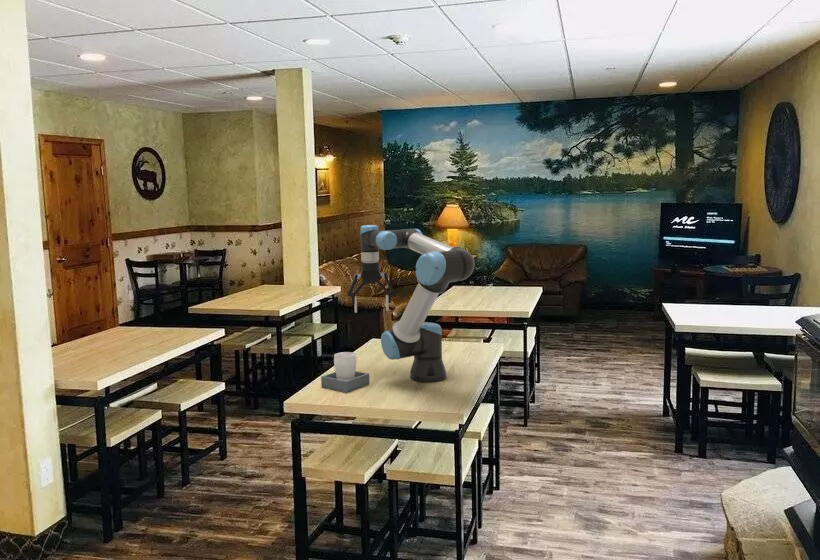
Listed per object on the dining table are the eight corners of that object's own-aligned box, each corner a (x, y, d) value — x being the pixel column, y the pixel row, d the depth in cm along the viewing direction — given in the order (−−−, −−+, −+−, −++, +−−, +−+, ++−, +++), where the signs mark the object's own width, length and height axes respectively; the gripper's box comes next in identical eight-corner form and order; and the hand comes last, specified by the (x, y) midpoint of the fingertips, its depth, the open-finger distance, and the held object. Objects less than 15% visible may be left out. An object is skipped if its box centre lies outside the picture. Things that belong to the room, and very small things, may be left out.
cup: (344, 388, 266) (343, 358, 265) (330, 384, 272) (329, 354, 271) (361, 383, 273) (360, 354, 271) (347, 379, 279) (346, 350, 277)
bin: (369, 384, 273) (369, 373, 273) (346, 392, 263) (346, 381, 262) (344, 379, 282) (344, 368, 281) (321, 387, 271) (321, 376, 270)
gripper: (397, 259, 291) (399, 308, 294) (339, 262, 287) (341, 311, 290) (400, 261, 284) (402, 311, 287) (341, 263, 280) (343, 314, 282)
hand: (371, 311), depth 288 cm, fingers open, 13 cm apart
